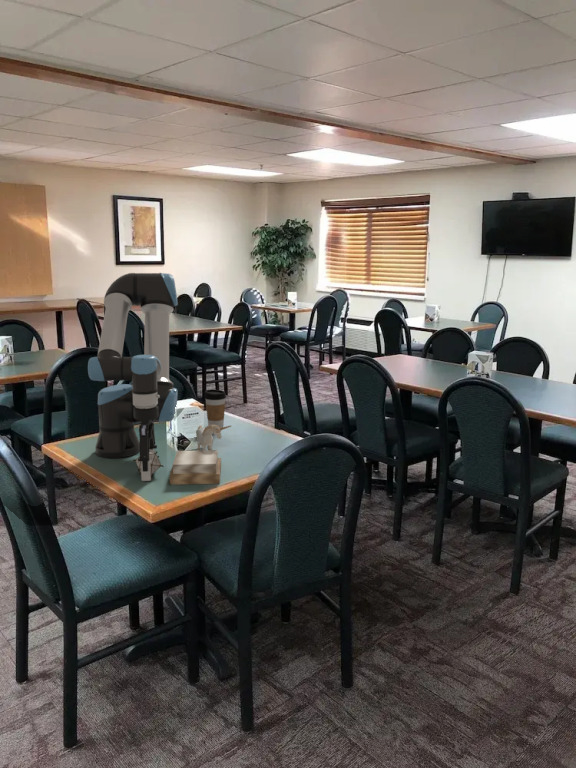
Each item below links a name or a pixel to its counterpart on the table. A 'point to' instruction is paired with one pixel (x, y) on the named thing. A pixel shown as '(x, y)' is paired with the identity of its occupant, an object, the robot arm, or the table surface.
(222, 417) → the coffee cup
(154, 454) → the game die
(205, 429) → the unicorn figurine
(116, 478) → the table surface
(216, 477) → the tower base
